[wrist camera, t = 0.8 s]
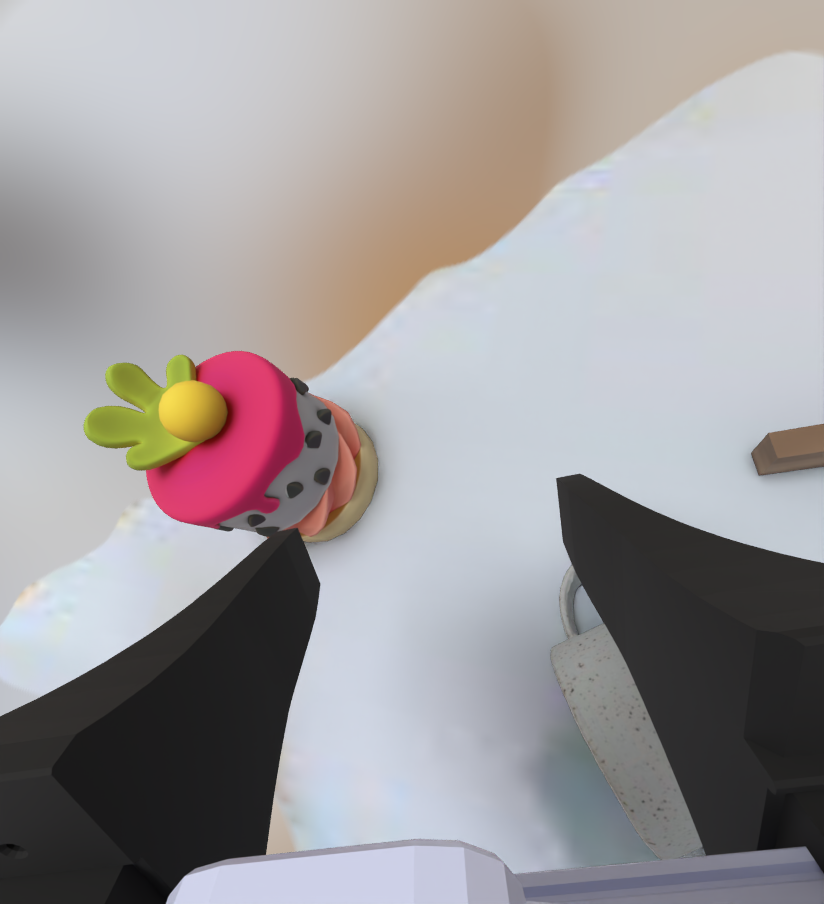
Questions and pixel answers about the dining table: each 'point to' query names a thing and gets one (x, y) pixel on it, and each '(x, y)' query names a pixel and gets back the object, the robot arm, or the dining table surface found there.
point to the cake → (240, 447)
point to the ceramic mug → (621, 732)
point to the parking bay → (790, 450)
